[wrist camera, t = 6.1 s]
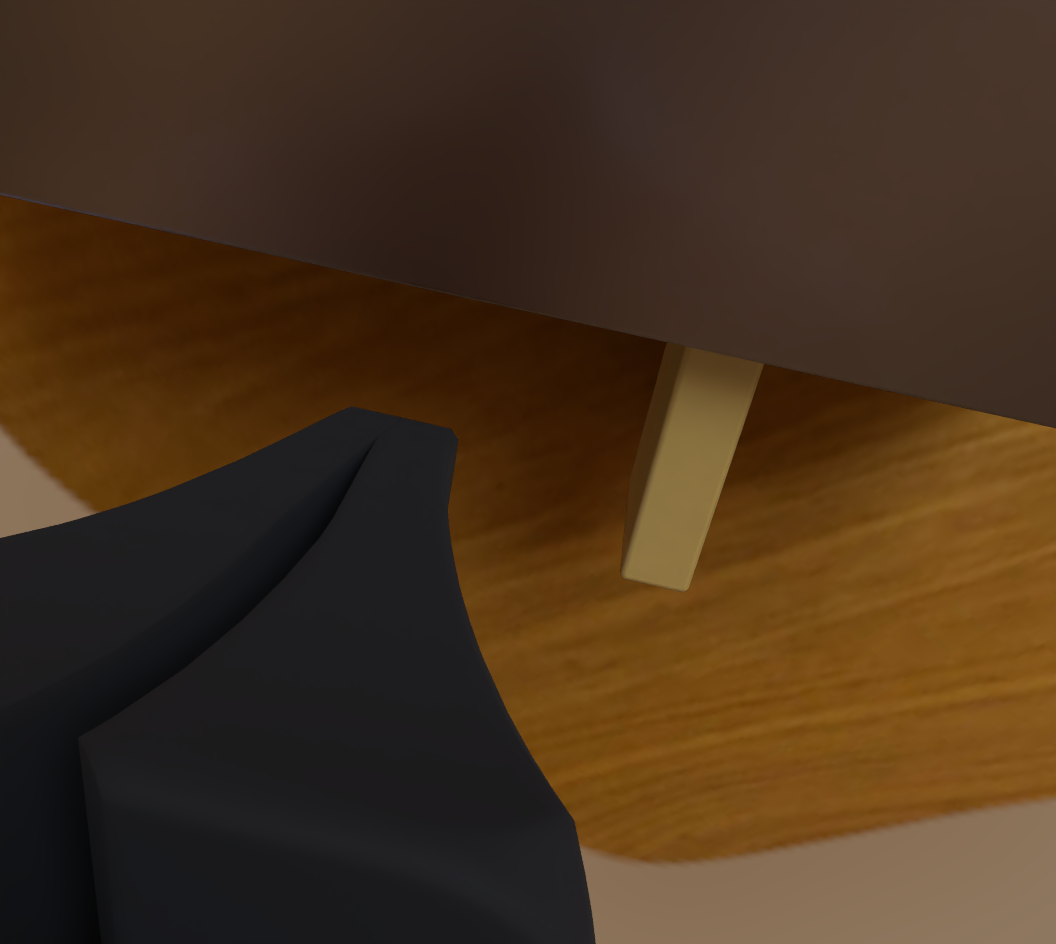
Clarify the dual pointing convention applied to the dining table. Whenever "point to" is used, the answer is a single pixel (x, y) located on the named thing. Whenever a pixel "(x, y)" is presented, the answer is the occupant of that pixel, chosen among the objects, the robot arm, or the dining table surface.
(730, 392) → the sliding door
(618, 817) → the dining table surface
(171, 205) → the cabinet
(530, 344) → the dining table surface
